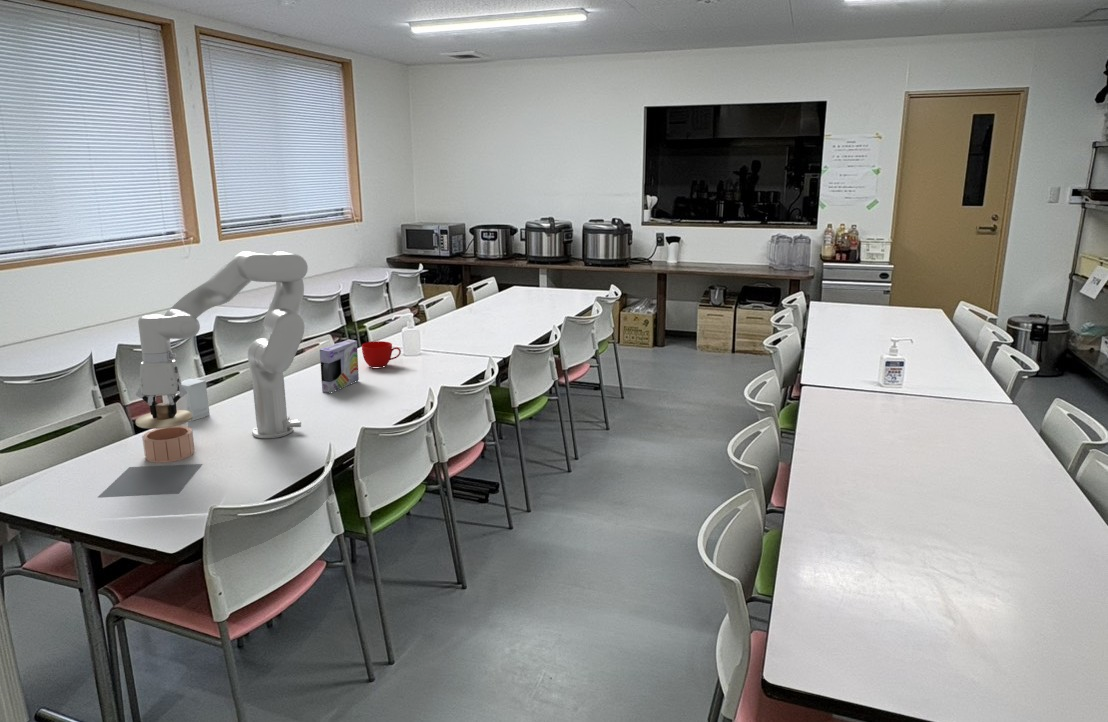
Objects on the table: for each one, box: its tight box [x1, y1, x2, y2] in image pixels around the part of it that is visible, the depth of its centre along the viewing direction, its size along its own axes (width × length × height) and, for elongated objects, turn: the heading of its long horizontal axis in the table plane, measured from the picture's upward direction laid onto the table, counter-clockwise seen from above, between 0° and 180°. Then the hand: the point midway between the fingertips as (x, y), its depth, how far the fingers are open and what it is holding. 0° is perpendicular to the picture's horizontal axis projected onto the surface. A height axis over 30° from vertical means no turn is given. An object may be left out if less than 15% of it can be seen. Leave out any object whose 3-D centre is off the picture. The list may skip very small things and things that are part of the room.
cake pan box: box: [319, 338, 360, 394], centre depth 285 cm, size 19×5×18 cm, turn 158°
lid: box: [135, 402, 193, 430], centre depth 213 cm, size 15×15×5 cm
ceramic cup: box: [361, 340, 402, 368], centre depth 317 cm, size 13×17×10 cm
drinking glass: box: [162, 391, 189, 427], centre depth 231 cm, size 7×7×15 cm
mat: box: [97, 463, 203, 498], centre depth 199 cm, size 20×20×1 cm
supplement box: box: [181, 377, 210, 421], centre depth 250 cm, size 7×7×13 cm
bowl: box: [141, 426, 196, 464], centre depth 216 cm, size 13×13×7 cm
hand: (164, 416), depth 214 cm, fingers closed on lid, 4 cm apart
